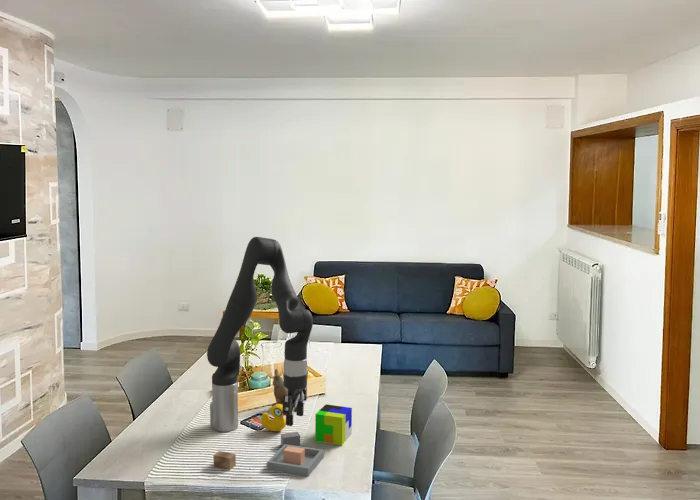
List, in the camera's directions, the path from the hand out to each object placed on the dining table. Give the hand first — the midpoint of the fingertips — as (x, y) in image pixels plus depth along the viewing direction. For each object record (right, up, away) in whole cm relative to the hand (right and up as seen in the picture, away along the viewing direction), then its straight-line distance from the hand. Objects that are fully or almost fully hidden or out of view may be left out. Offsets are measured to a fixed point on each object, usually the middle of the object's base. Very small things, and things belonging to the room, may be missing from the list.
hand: (294, 420), depth 202 cm
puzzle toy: (+12, -12, +22) cm, 28 cm away
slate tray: (0, -15, +2) cm, 15 cm away
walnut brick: (-22, -15, 0) cm, 27 cm away
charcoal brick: (-3, -13, +15) cm, 20 cm away
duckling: (-9, -12, +28) cm, 32 cm away
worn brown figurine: (-8, -9, +49) cm, 51 cm away
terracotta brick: (0, -14, +2) cm, 14 cm away
